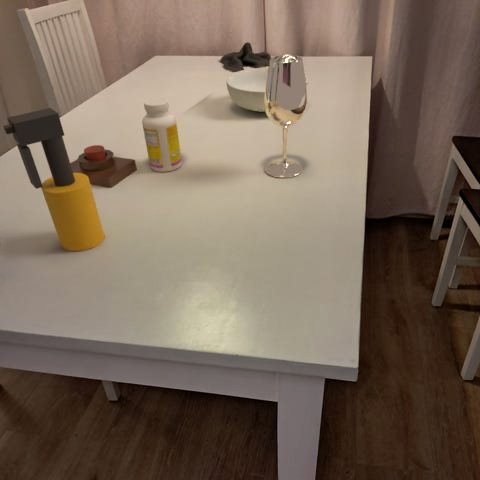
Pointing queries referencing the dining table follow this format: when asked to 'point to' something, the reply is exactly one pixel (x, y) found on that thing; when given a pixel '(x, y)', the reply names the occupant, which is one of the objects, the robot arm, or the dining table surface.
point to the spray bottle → (61, 181)
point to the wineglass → (285, 104)
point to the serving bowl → (249, 89)
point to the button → (94, 152)
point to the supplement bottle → (161, 136)
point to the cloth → (244, 59)
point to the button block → (104, 169)
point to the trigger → (30, 166)
